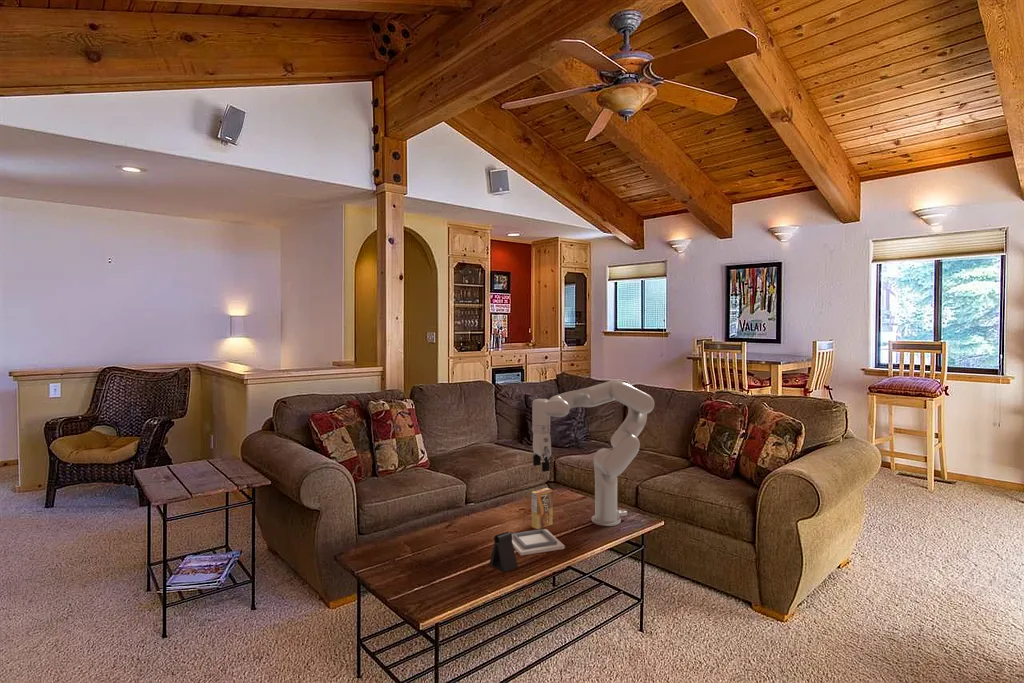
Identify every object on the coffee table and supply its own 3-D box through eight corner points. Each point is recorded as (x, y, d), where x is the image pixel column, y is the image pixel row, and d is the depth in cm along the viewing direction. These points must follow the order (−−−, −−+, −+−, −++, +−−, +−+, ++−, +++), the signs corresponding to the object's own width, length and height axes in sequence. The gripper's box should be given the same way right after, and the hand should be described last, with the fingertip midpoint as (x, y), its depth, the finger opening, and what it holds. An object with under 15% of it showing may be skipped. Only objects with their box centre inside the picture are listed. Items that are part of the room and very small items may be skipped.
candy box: (546, 522, 255) (546, 487, 254) (553, 524, 252) (552, 489, 251) (531, 527, 249) (530, 491, 249) (537, 529, 246) (537, 493, 245)
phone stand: (489, 564, 214) (488, 532, 213) (502, 559, 217) (501, 528, 217) (505, 572, 207) (504, 539, 206) (517, 567, 211) (517, 535, 210)
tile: (546, 532, 244) (546, 526, 244) (564, 548, 227) (564, 542, 227) (505, 538, 238) (505, 532, 238) (521, 555, 221) (520, 549, 221)
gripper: (557, 431, 241) (557, 472, 242) (541, 423, 258) (541, 462, 259) (540, 433, 239) (540, 474, 240) (525, 425, 255) (525, 463, 256)
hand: (541, 468), depth 249 cm, fingers open, 9 cm apart
